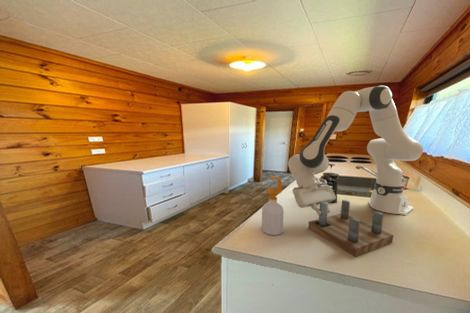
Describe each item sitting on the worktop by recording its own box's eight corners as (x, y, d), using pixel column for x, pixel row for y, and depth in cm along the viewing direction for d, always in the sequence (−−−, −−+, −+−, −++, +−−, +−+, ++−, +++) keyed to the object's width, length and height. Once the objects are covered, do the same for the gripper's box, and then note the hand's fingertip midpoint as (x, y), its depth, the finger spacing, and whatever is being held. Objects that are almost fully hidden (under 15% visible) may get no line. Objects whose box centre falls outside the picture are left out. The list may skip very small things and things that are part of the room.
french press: (330, 204, 116) (333, 166, 113) (316, 199, 124) (319, 163, 121) (342, 201, 122) (345, 164, 119) (328, 196, 130) (330, 162, 127)
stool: (342, 218, 97) (343, 197, 96) (392, 242, 77) (395, 215, 76) (308, 227, 88) (309, 204, 87) (355, 256, 68) (358, 227, 67)
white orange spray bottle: (259, 225, 90) (260, 173, 87) (279, 224, 91) (280, 173, 88) (264, 236, 81) (265, 178, 78) (285, 235, 82) (288, 177, 79)
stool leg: (321, 224, 88) (323, 201, 87) (327, 228, 85) (329, 203, 84) (316, 226, 87) (318, 202, 85) (322, 229, 84) (324, 204, 82)
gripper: (294, 184, 86) (310, 214, 78) (328, 179, 94) (345, 206, 86) (287, 191, 90) (301, 220, 83) (320, 186, 98) (335, 212, 91)
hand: (324, 213), depth 85 cm, fingers closed on stool leg, 3 cm apart
